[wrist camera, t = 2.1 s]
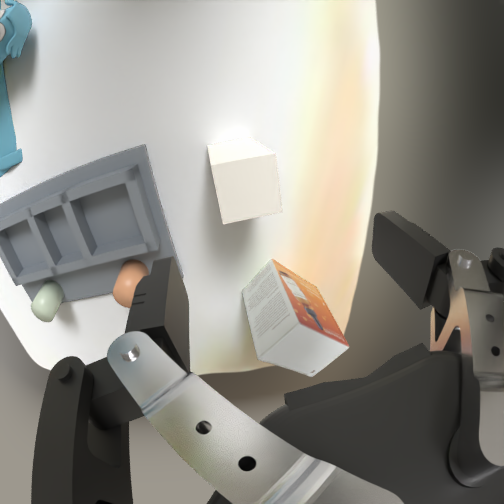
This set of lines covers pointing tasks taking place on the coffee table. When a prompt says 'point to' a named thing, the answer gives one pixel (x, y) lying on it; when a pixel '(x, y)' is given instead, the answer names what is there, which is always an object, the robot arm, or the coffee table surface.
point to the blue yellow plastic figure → (3, 43)
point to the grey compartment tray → (86, 233)
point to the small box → (291, 321)
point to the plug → (245, 179)
